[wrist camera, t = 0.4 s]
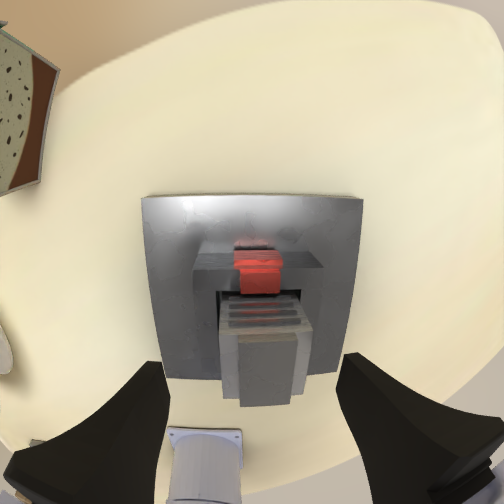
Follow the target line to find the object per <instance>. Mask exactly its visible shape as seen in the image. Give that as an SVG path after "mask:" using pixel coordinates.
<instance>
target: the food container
mask: <svg viewBox="0 0 504 504" xmlns="http://www.w3.org/2000/svg"><path fill="white" fill-rule="evenodd" d="M7 23H8V22H6V21H0V197H1V196H3V195H6V194H9V193H11V192H14V191H17V190H19V189H22V188H25V187H28V186H31V185H34V184H37V183H40V182H41V170H42V159H43V150H44V143H45V136H46V130H47V124H48V118H49V113H50V109H51V104H52V100H53V95H54V91H55V87H56V84H57V80H58V77H59V73H60V69H59V68H58V67H56V66H55V65H54V64H52V63H50V62H49V61H48V60H46V59H45V58H44V57H42V56H41V55H39V54H38V53H36V52H35V51H33V50H32V49H31V48H29V47H27V46H26V45H25V44H23V43H22V42H20V41H19V40H17V39H15V38H14V37H13V36H11V35H10V34H8V33H7V32H5V31H4V30H2V29H1V28H2V27H3V26H5V25H7Z"/></svg>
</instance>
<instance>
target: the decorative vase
mask: <svg viewBox="0 0 504 504" xmlns="http://www.w3.org/2000/svg"><path fill="white" fill-rule="evenodd" d="M12 367H13V355H12V351H11V347H10V345H9V342H8V339H7V337H6V335H5V333H4V331H3V329H2V327H1V325H0V373H1V374H7V373H9V372H10V371H11V369H12Z"/></svg>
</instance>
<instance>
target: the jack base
mask: <svg viewBox="0 0 504 504" xmlns="http://www.w3.org/2000/svg"><path fill="white" fill-rule="evenodd" d="M141 205H142V221H143V234H144V246H145V256H146V265H147V273H148V281H149V288H150V295H151V302H152V308H153V314H154V320H155V326H156V331H157V337H158V342H159V347H160V351H161V356H162V361H163V365H164V370H165V374H166V378H177V379H201V380H222V377H221V363H220V349H219V322H220V308H221V296H222V291H240V293H241V294H260V293H280V290H290V289H293V290H294V292H295V294H296V296H297V298H298V300H299V302H300V304H301V306H302V308H303V310H304V312H305V315H306V317H307V319H308V321H309V323H310V325H311V327H312V329H313V337H312V344H311V351H310V357H309V363H308V369H307V375H315V374H323V373H331V372H337V368H338V364H339V360H340V356H341V352H342V347H343V343H344V338H345V333H346V328H347V323H348V318H349V313H350V307H351V301H352V295H353V289H354V283H355V276H356V269H357V261H358V253H359V245H360V235H361V225H362V213H363V199H360V198H356V197H348V196H330V195H306V194H263V193H227V194H183V195H160V196H147V197H144V198H141Z"/></svg>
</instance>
